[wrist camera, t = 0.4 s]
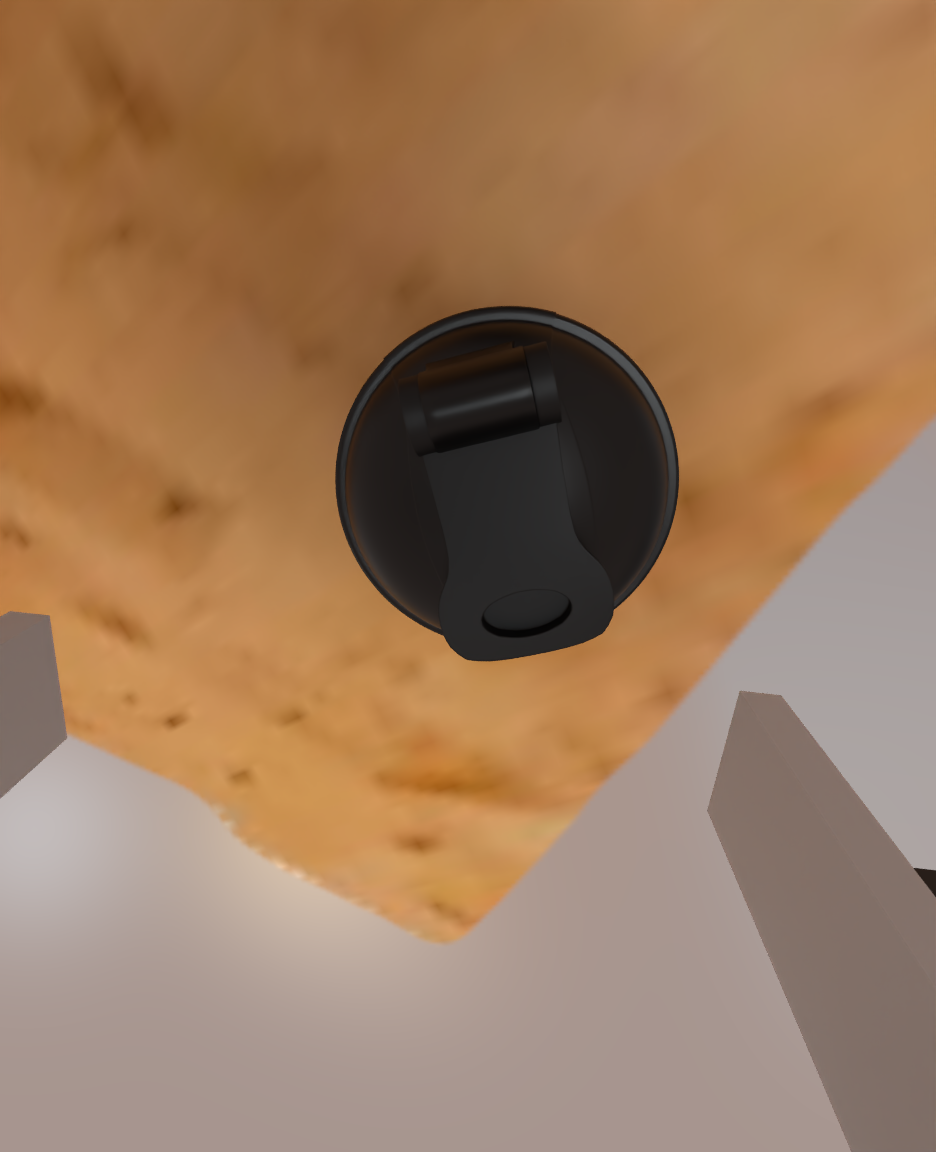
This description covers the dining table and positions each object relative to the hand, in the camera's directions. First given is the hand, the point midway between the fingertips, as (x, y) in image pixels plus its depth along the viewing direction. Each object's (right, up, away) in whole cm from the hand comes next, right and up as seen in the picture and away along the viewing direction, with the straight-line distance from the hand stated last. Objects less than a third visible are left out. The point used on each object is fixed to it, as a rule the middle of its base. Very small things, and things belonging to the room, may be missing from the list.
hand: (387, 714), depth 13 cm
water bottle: (+4, +12, +25) cm, 28 cm away
